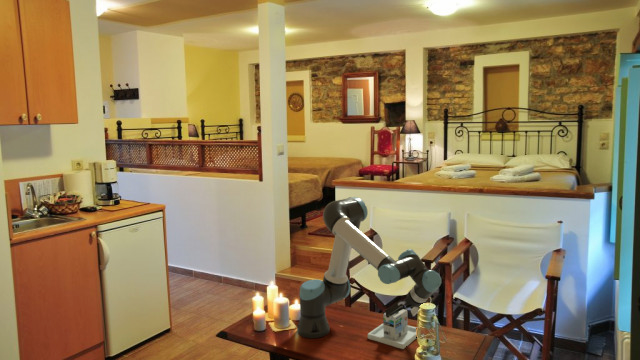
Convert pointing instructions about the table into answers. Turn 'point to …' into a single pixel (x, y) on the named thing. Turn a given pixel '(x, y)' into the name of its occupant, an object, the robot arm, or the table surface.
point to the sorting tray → (399, 343)
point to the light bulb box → (396, 325)
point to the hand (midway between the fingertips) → (399, 316)
